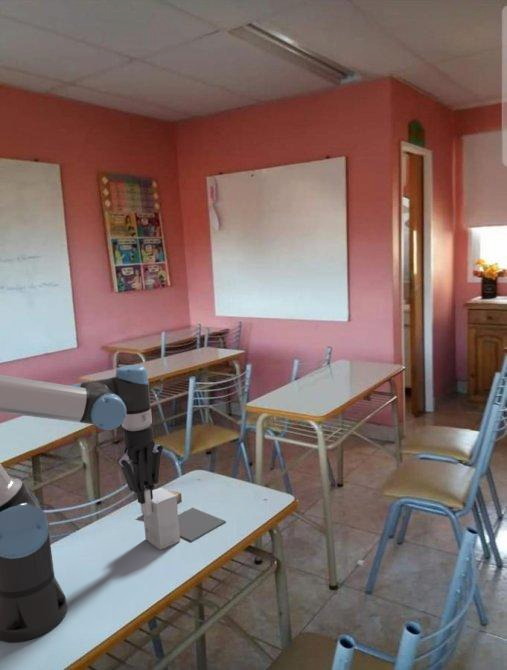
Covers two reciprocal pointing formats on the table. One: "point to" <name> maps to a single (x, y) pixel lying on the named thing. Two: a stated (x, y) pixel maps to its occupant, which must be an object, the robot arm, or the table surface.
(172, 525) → the small box
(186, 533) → the mat
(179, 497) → the board eraser
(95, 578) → the table surface
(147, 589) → the table surface
